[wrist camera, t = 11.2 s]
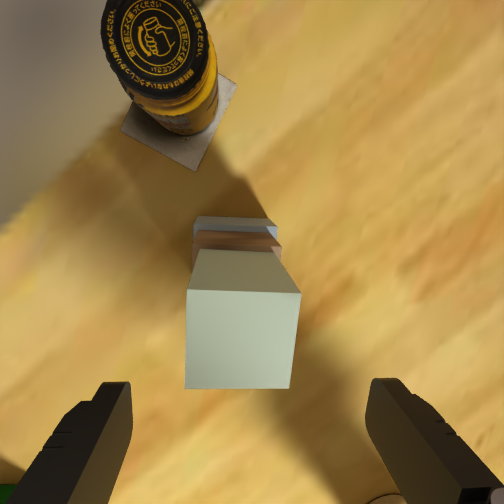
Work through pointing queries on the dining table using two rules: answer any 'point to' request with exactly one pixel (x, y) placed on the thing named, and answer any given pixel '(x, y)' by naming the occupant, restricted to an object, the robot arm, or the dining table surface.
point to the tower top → (234, 242)
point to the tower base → (234, 224)
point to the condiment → (166, 75)
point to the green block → (240, 321)
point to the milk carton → (5, 492)
